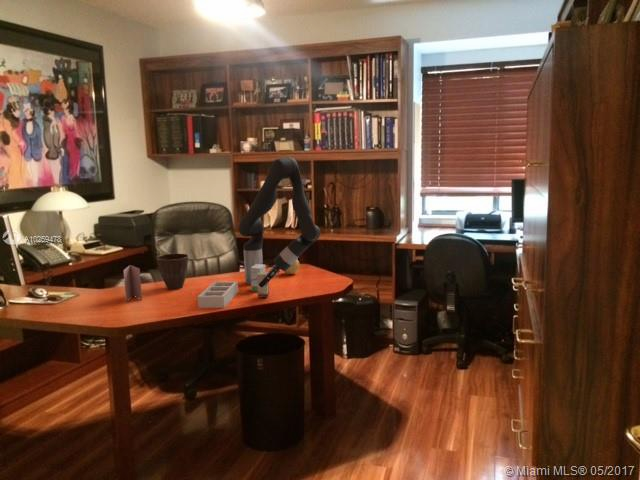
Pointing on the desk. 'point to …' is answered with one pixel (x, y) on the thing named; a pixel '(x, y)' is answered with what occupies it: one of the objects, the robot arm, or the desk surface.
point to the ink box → (254, 271)
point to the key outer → (214, 295)
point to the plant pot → (173, 270)
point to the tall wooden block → (265, 289)
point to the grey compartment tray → (217, 300)
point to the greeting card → (132, 282)
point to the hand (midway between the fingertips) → (261, 284)
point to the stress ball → (293, 268)
